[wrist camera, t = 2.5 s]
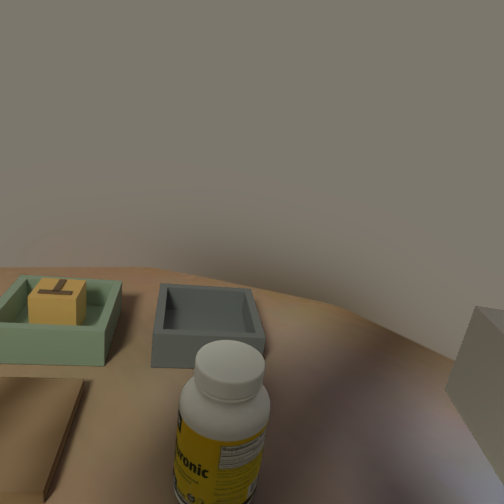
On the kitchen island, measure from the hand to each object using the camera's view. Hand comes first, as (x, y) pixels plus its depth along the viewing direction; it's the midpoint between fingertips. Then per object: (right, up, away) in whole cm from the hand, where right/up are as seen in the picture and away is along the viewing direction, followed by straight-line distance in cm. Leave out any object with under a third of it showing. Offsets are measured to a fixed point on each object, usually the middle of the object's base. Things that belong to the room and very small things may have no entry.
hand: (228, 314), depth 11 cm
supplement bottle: (-2, -14, +16) cm, 21 cm away
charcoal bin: (-4, -7, +31) cm, 32 cm away
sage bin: (-18, -6, +29) cm, 34 cm away
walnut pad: (-17, -11, +17) cm, 26 cm away
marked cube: (-18, -5, +28) cm, 34 cm away
